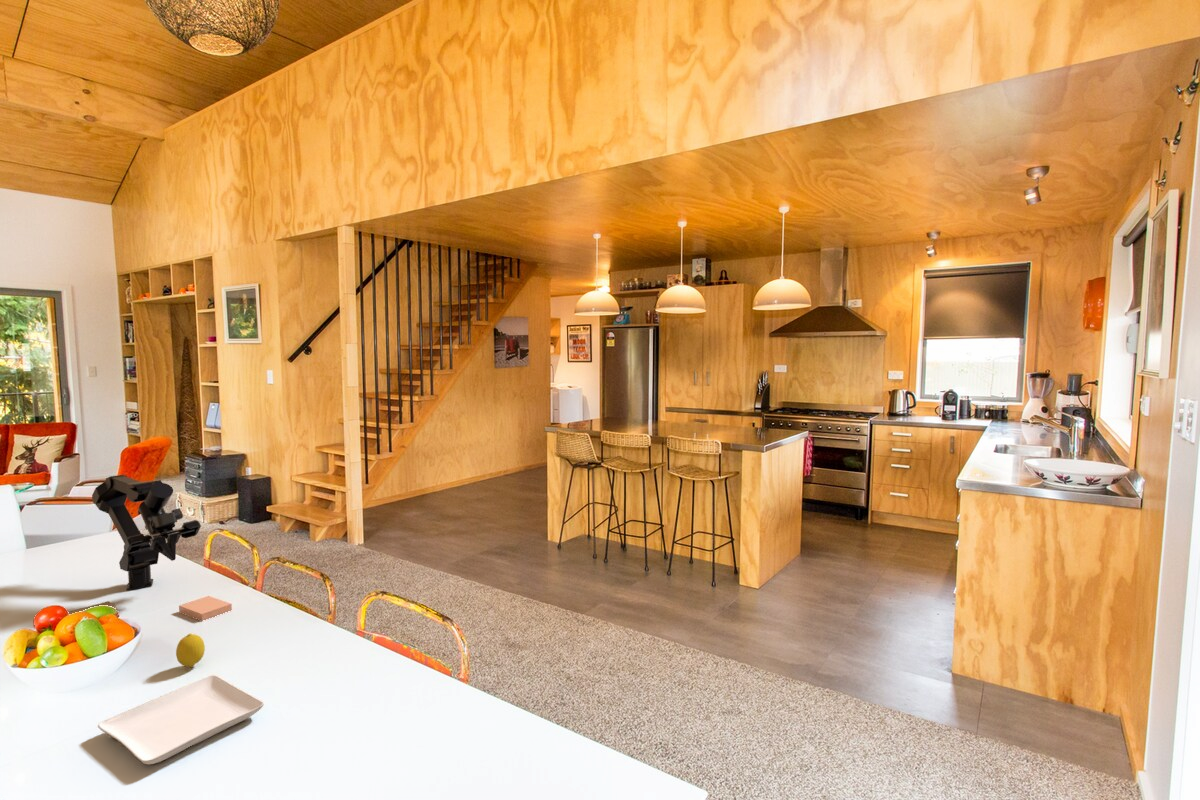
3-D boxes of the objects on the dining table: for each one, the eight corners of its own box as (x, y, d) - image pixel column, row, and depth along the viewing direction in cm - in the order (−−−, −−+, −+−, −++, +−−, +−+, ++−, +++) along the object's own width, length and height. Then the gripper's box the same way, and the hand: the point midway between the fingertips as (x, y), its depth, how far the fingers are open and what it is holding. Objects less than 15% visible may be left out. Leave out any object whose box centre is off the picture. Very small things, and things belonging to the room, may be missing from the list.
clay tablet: (121, 617, 171) (120, 607, 171) (75, 630, 163) (74, 620, 162) (103, 605, 179) (103, 596, 179) (59, 617, 171) (58, 607, 171)
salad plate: (145, 779, 104) (144, 760, 104) (95, 739, 116) (94, 722, 115) (267, 718, 122) (267, 701, 122) (214, 688, 134) (213, 673, 133)
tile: (178, 605, 172) (201, 614, 167) (208, 595, 179) (231, 603, 173) (179, 613, 173) (202, 622, 167) (208, 604, 180) (231, 612, 174)
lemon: (210, 664, 143) (209, 631, 143) (186, 675, 138) (184, 641, 138) (196, 659, 146) (194, 627, 145) (171, 670, 141) (169, 636, 140)
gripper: (122, 510, 173) (142, 556, 169) (195, 494, 189) (214, 536, 184) (115, 531, 179) (134, 575, 174) (186, 514, 194) (205, 554, 190)
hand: (173, 559), depth 180 cm, fingers closed
